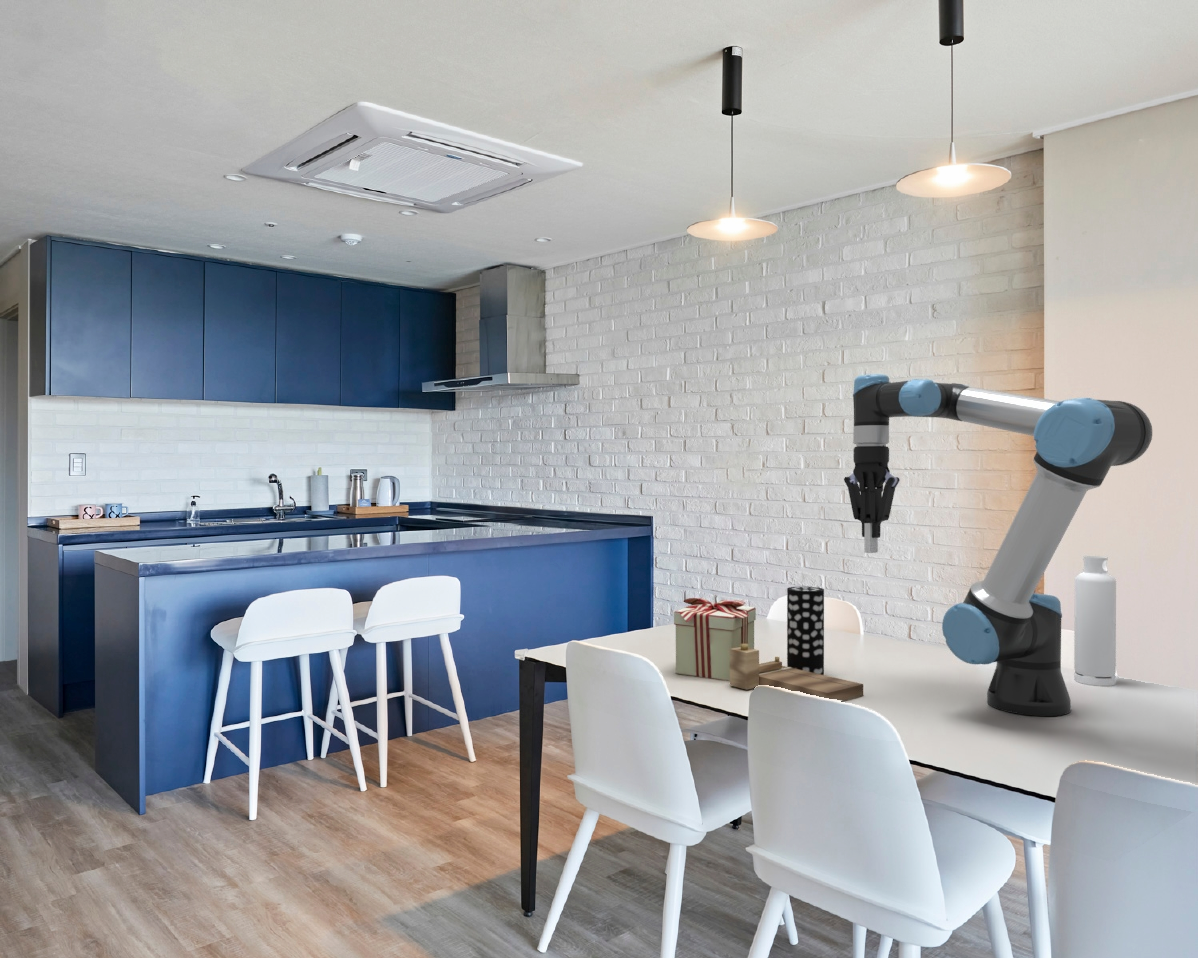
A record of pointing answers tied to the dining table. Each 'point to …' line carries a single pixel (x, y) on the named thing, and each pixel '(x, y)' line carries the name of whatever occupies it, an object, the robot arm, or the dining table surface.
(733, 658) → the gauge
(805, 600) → the spotted tube
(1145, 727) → the dining table surface
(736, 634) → the gift box
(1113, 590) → the bottle
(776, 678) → the board
